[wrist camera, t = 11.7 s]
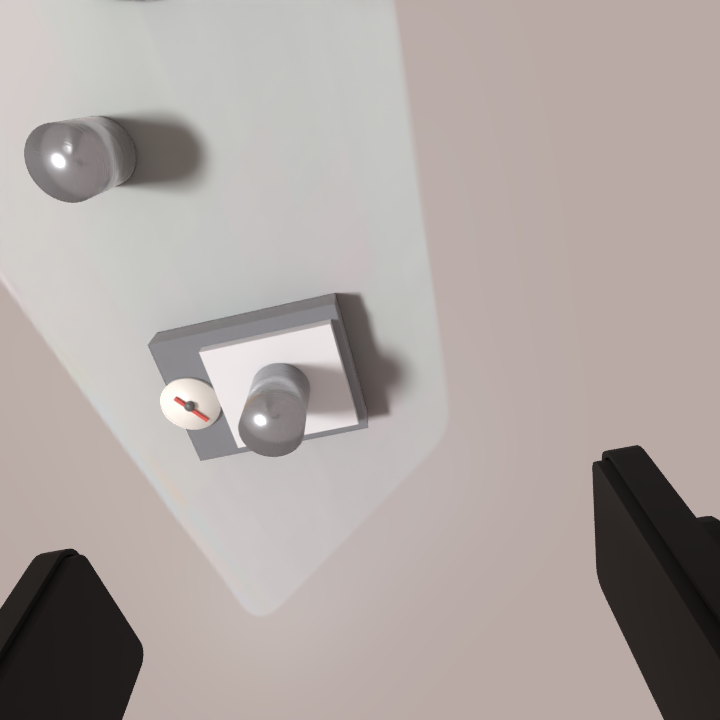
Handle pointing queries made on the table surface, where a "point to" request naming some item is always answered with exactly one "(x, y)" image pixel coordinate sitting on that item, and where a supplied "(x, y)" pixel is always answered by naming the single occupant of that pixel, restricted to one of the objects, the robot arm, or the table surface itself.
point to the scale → (245, 358)
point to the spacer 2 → (275, 410)
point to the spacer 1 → (79, 157)
